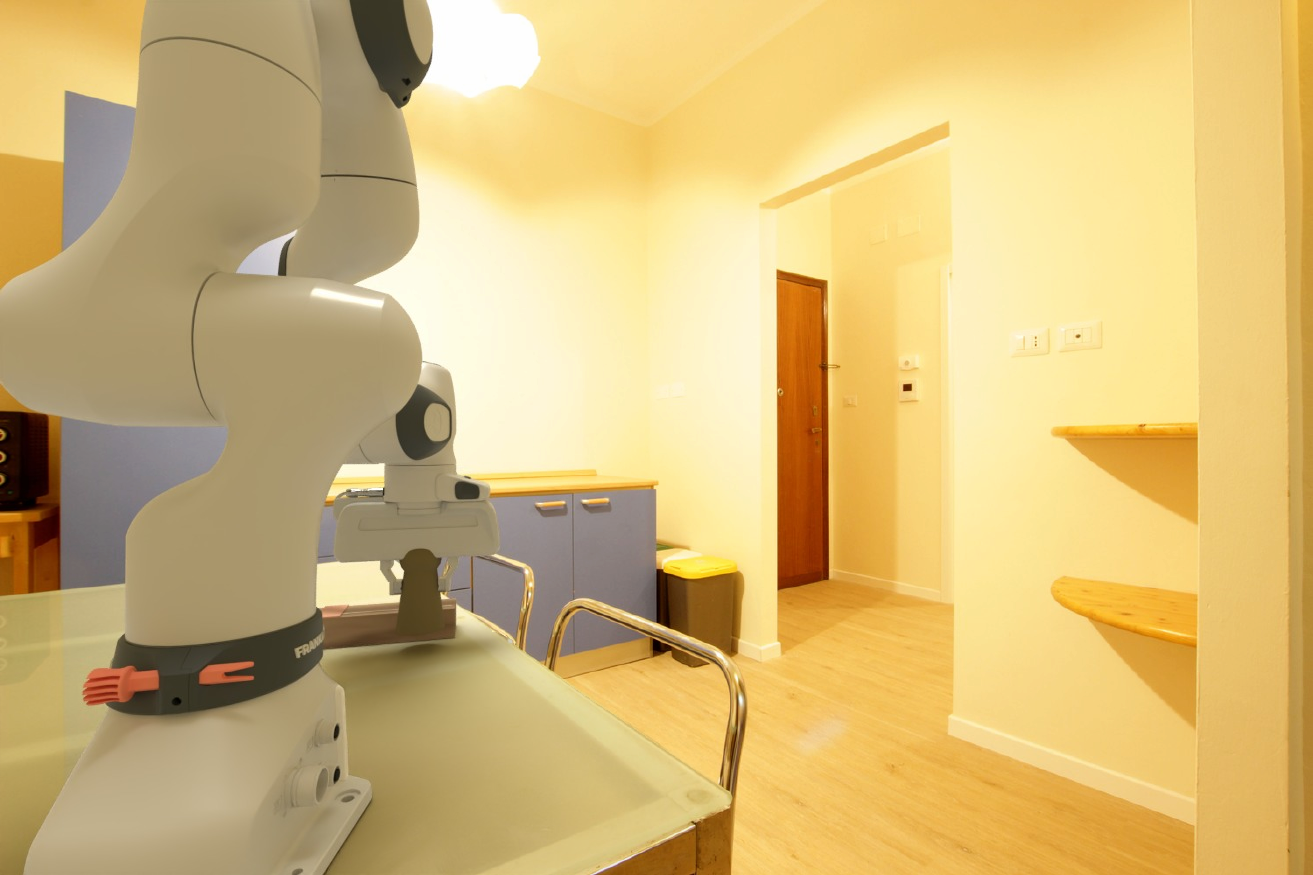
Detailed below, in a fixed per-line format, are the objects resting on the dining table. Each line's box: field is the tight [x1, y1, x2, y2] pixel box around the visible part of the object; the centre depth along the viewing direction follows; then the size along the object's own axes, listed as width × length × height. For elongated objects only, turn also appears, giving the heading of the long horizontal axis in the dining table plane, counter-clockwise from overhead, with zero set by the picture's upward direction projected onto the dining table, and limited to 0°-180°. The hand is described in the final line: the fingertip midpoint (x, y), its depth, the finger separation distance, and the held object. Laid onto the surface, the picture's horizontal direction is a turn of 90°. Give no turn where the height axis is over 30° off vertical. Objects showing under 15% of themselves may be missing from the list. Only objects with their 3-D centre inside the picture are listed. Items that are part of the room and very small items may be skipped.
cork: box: [396, 548, 445, 636], centre depth 79 cm, size 6×6×11 cm
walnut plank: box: [318, 597, 457, 650], centre depth 84 cm, size 6×20×4 cm, turn 106°
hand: (420, 592), depth 79 cm, fingers closed on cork, 4 cm apart
